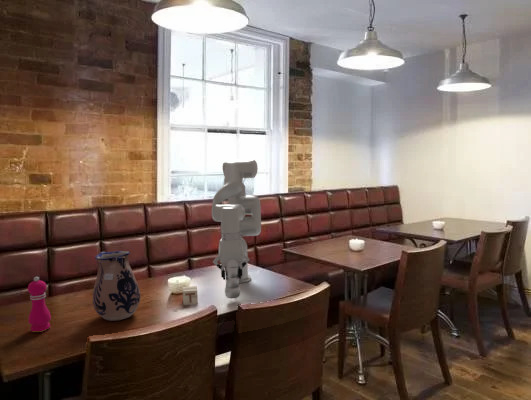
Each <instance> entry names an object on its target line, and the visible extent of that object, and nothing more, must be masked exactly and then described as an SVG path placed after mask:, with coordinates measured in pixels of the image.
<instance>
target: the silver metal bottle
mask: <svg viewBox="0 0 531 400" xmlns="http://www.w3.org/2000/svg"><path fill="white" fill-rule="evenodd" d="M224 270H225V288H224V294H225V297H226V298H227V299H233V300H234V299H238V298H239V297H240V296H241V289H240V288H241V287H240V283H239V280H238V274H239V263H238V262H237V261H235V260H230V261H228V262H227V263H226V264H225V268H224Z"/></svg>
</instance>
